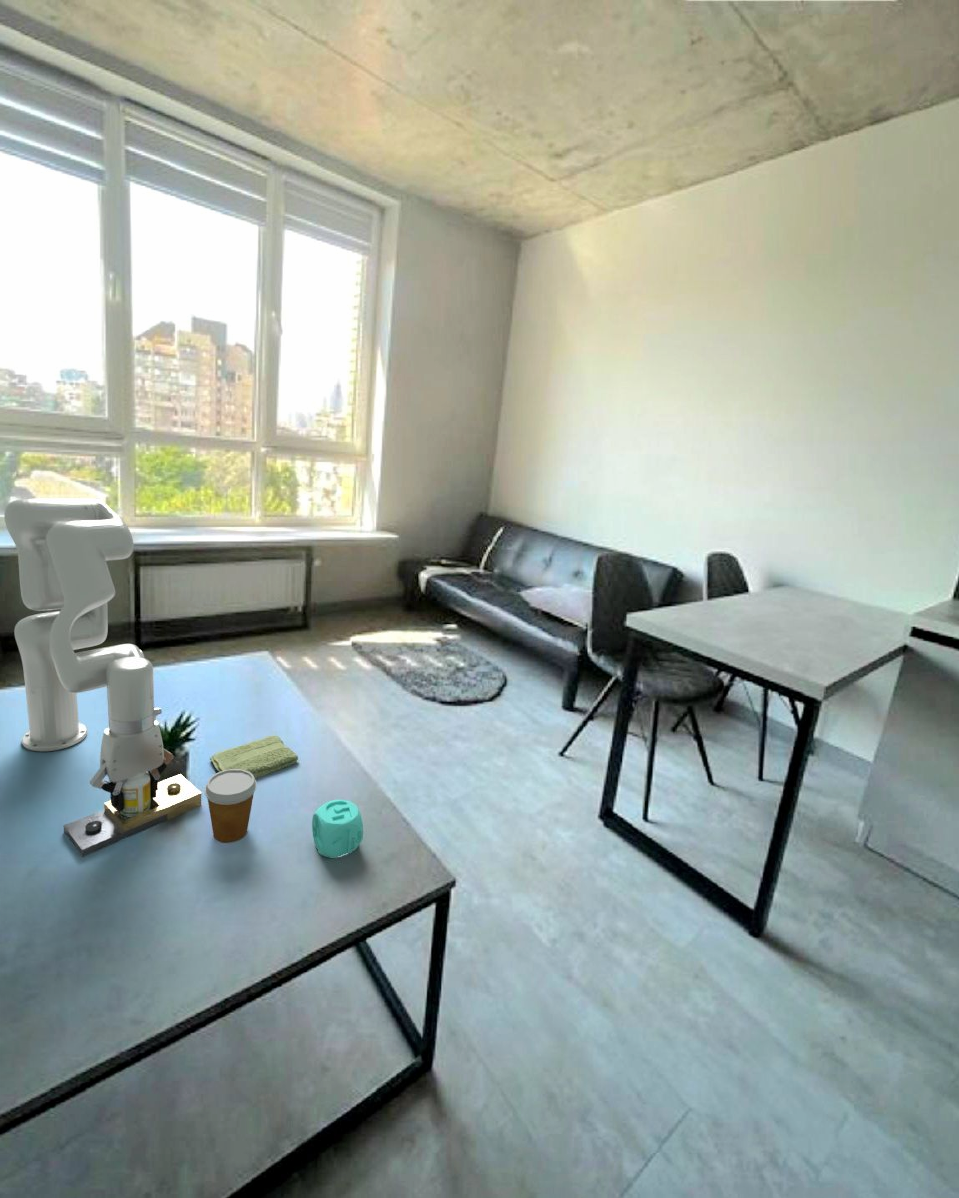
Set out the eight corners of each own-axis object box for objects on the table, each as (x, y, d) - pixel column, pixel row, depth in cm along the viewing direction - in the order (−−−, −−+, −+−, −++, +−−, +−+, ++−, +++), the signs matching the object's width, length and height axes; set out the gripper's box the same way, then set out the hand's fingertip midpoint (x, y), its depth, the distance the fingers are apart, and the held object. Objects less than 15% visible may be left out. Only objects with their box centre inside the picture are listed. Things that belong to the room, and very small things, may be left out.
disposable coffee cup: (265, 826, 118) (267, 776, 115) (232, 855, 109) (233, 802, 106) (228, 811, 121) (229, 762, 117) (193, 839, 112) (192, 786, 109)
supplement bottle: (125, 821, 111) (124, 779, 108) (115, 807, 114) (113, 766, 112) (155, 810, 115) (154, 769, 113) (144, 797, 118) (143, 757, 116)
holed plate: (64, 832, 109) (62, 814, 108) (180, 786, 126) (180, 770, 125) (82, 856, 104) (81, 838, 103) (201, 805, 121) (201, 789, 120)
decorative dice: (322, 863, 110) (324, 828, 108) (310, 837, 117) (312, 804, 115) (361, 852, 115) (364, 818, 112) (348, 827, 121) (351, 795, 119)
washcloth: (206, 762, 137) (206, 750, 136) (276, 741, 149) (277, 730, 148) (228, 790, 128) (229, 777, 127) (301, 765, 141) (301, 754, 140)
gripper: (168, 700, 118) (170, 776, 123) (72, 727, 105) (78, 810, 110) (186, 714, 114) (187, 792, 119) (89, 744, 100) (94, 830, 105)
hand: (135, 800), depth 114 cm, fingers closed on supplement bottle, 5 cm apart
